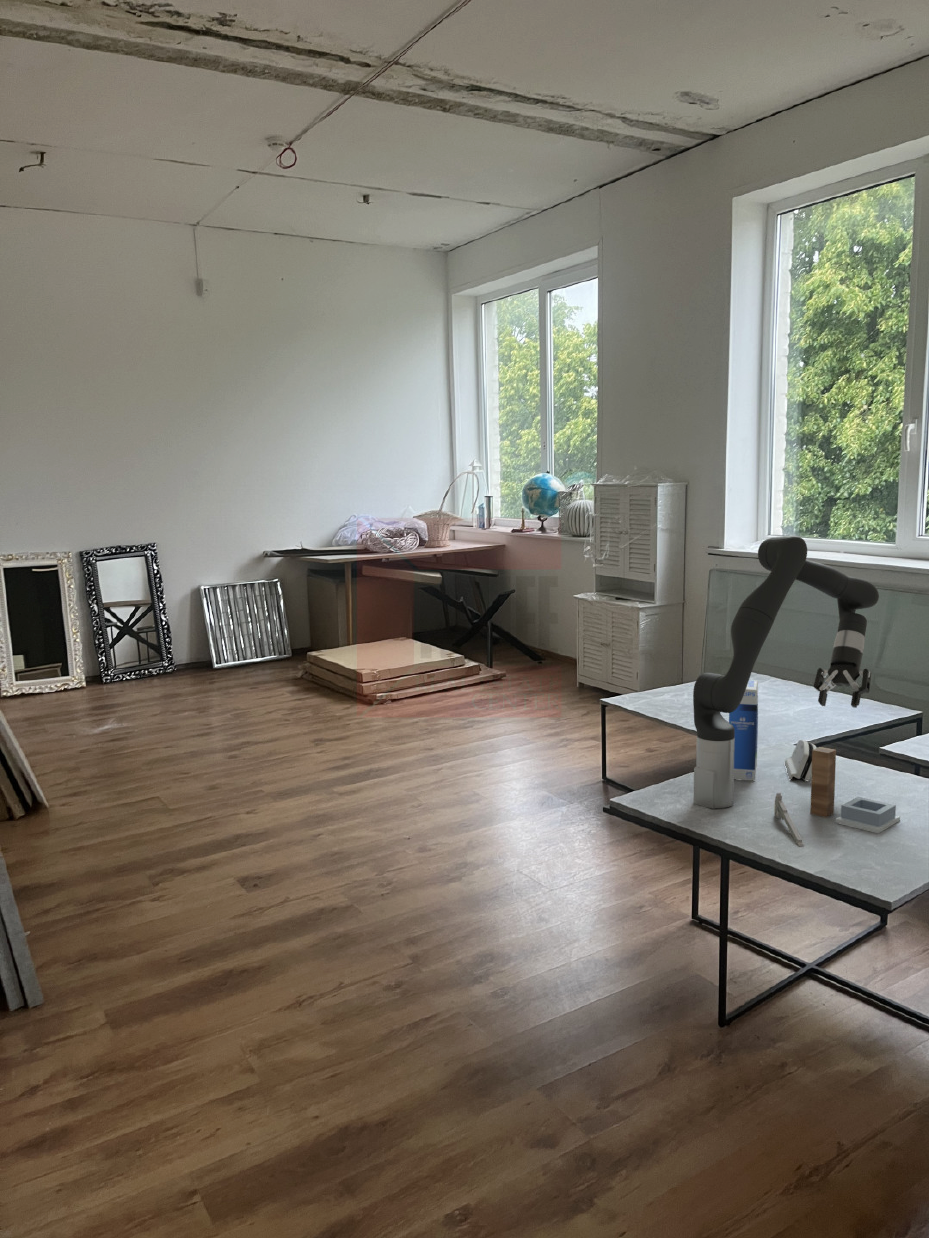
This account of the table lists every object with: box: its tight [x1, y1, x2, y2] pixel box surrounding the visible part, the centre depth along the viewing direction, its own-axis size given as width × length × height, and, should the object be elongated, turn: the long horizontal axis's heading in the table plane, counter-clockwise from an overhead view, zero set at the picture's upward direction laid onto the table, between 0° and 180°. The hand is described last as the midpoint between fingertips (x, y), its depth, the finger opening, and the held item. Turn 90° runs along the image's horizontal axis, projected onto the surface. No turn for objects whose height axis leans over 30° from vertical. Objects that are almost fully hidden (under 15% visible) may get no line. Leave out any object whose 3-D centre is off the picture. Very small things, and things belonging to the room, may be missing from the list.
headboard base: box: [835, 796, 901, 834], centre depth 215 cm, size 12×10×4 cm
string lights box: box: [728, 679, 759, 781], centre depth 253 cm, size 13×8×26 cm, turn 161°
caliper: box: [773, 792, 804, 847], centre depth 210 cm, size 20×1×6 cm, turn 176°
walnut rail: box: [810, 746, 837, 818], centre depth 220 cm, size 4×4×16 cm
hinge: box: [784, 739, 817, 781], centre depth 254 cm, size 17×5×10 cm, turn 166°
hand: (837, 705), depth 241 cm, fingers open, 8 cm apart
